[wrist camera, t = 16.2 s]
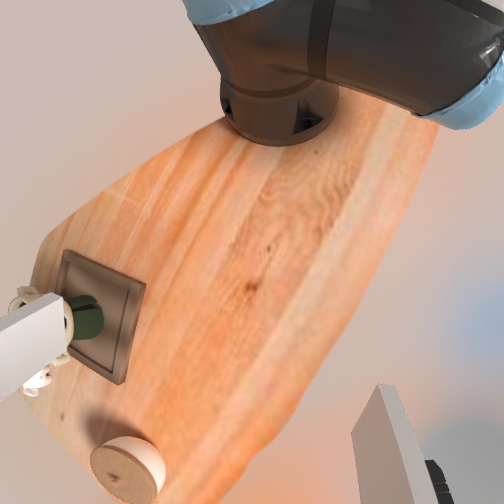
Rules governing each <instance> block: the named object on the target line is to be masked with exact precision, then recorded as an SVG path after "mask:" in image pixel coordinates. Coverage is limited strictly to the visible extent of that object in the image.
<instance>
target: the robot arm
mask: <svg viewBox="0 0 504 504" xmlns="http://www.w3.org/2000/svg"><path fill="white" fill-rule="evenodd" d="M182 1H183V3H184V5H185V7H186V10H187V16H188V18H189V20H190V21H191V22H192V24H193V26H194V27H195V29H196V31H197V33H198V34H199V36H200V38H201V40H202V41H203V43H204V45H205V46H206V48H207V50H208V52H209V54H210V56H211V57H212V59H213V61H214V63H215V64H216V66H217V68H218V70H219V72H220V74H221V84H220V101H221V106H222V109H223V111H224V113H225V115H226V117H227V119H228V121H229V122H230V124H231V125H232V127H233V128H234V129H235V130H236V131H237V132H238V133H239V134H241V135H242V136H244V137H245V138H247V139H249V140H251V141H253V142H256V143H259V144H262V145H267V146H290V145H295V144H299V143H302V142H305V141H307V140H310V139H312V138H313V137H315V136H317V135H318V134H320V133H321V132H322V131H323V130H324V129H325V128H326V127H327V126H328V125H329V124H330V123H331V121H332V119H333V118H334V116H335V113H336V111H337V106H338V99H339V87H338V85H339V86H342V87H346V88H349V89H352V90H355V91H358V92H361V93H364V94H367V95H369V96H372V97H375V98H378V99H380V100H383V101H386V102H388V103H391V104H393V105H396V106H398V107H401V108H403V109H405V110H408V111H410V112H411V114H412V115H414V116H416V117H418V118H423V119H429V120H431V121H433V122H436V123H438V124H440V125H443V126H445V127H447V128H450V129H454V130H459V129H470V128H472V127H474V126H477V125H478V124H480V123H481V122H483V121H484V120H485V119H487V118H488V117H489V116H490V115H491V114H492V113H493V112H494V111H495V110H496V109H497V107H498V106H499V105H500V103H501V102H502V101H503V99H504V0H182ZM66 350H67V345H66V336H65V325H64V311H63V297H61V296H59V295H57V294H54V293H52V292H50V293H48V294H46V295H44V296H42V297H40V298H38V299H36V300H34V301H32V302H30V303H28V304H26V305H24V306H22V307H21V308H19V309H17V310H15V311H13V312H11V313H9V314H7V315H5V316H3V317H1V318H0V403H1V402H2V401H3V400H5V399H6V398H7V397H8V396H9V395H11V394H12V393H13V392H14V391H16V390H17V389H18V388H19V387H21V386H22V385H23V384H24V383H25V382H27V381H28V380H29V379H30V378H32V377H33V376H34V375H35V374H37V373H38V372H39V371H40V370H42V369H43V368H44V367H46V366H47V365H48V364H49V363H51V362H52V361H53V360H54V359H56V358H57V357H58V356H60V355H61V354H62V353H63V352H65V351H66ZM351 436H352V442H353V448H354V454H355V461H356V468H357V475H358V483H359V491H360V499H361V504H454V502H453V499H452V496H451V493H449V488H448V485H447V484H446V480H445V477H444V474H443V472H442V470H441V468H440V467H439V466H438V465H437V464H436V463H435V461H434V460H424V458H423V456H422V453H421V450H420V447H419V445H418V442H417V439H416V437H415V434H414V432H413V429H412V426H411V424H410V421H409V419H408V417H407V414H406V411H405V409H404V407H403V404H402V402H401V399H400V397H399V394H398V392H397V390H396V387H395V385H386V384H377V386H376V388H375V390H374V392H373V394H372V395H371V397H370V399H369V401H368V403H367V405H366V407H365V409H364V411H363V412H362V414H361V416H360V418H359V420H358V421H357V423H356V425H355V426H354V428H353V430H352V432H351Z"/></svg>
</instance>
